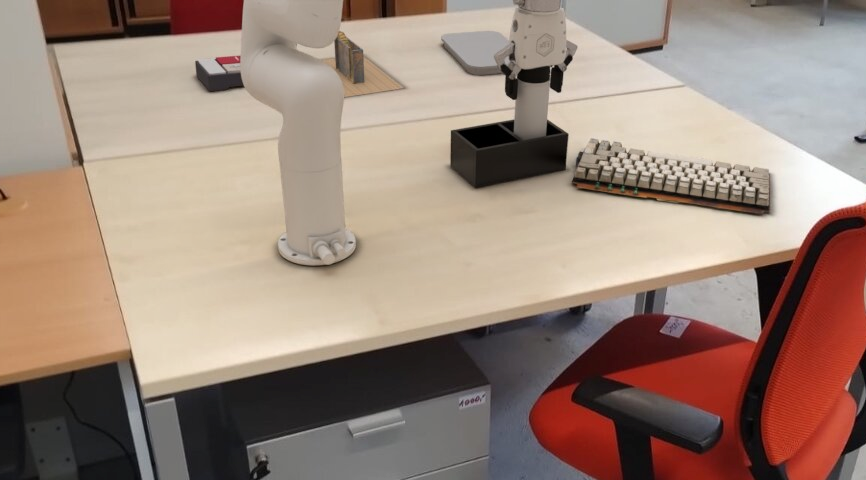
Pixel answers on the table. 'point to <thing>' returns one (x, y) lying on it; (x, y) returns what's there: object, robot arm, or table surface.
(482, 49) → the grey flat block
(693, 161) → the mechanical keyboard
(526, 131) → the travel mug
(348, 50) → the architectural model on board
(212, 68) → the calculator
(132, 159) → the table surface
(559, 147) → the caddy
